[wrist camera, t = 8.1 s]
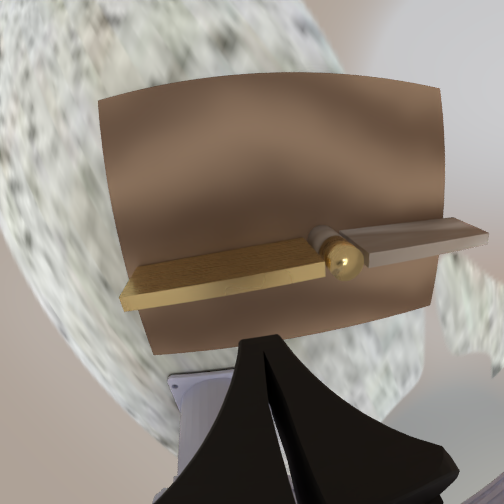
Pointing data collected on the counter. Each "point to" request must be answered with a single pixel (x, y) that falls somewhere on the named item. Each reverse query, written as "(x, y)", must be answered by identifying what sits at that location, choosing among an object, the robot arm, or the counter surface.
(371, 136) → the hinge base
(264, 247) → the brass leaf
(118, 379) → the counter surface
